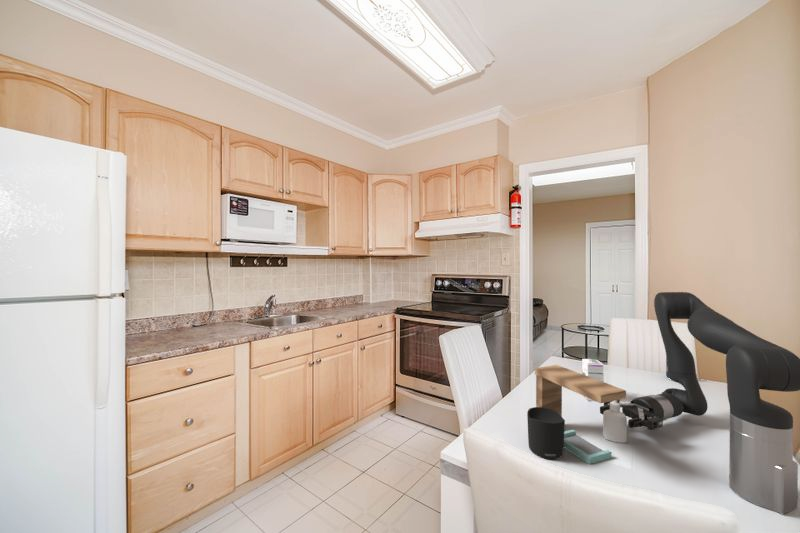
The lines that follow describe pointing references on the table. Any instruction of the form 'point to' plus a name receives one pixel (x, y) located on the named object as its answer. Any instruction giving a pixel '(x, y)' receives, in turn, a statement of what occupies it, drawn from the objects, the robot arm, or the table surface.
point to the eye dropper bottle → (615, 424)
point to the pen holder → (545, 432)
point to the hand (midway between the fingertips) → (614, 417)
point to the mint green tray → (584, 448)
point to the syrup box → (592, 370)
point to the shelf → (570, 387)
